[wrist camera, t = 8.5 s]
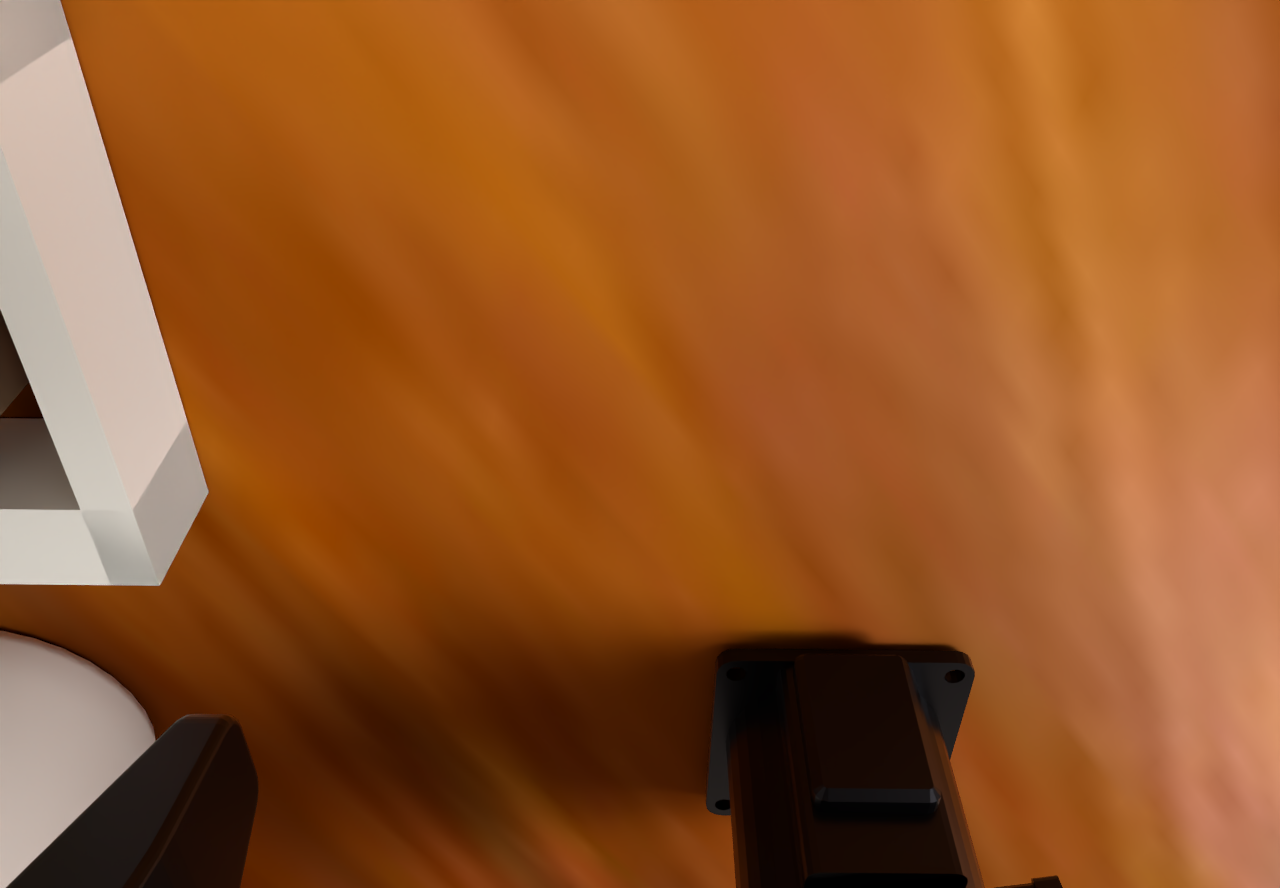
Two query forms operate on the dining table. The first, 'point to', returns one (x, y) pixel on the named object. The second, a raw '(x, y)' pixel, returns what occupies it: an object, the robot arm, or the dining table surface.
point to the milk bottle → (57, 743)
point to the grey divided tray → (79, 340)
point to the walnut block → (9, 368)
